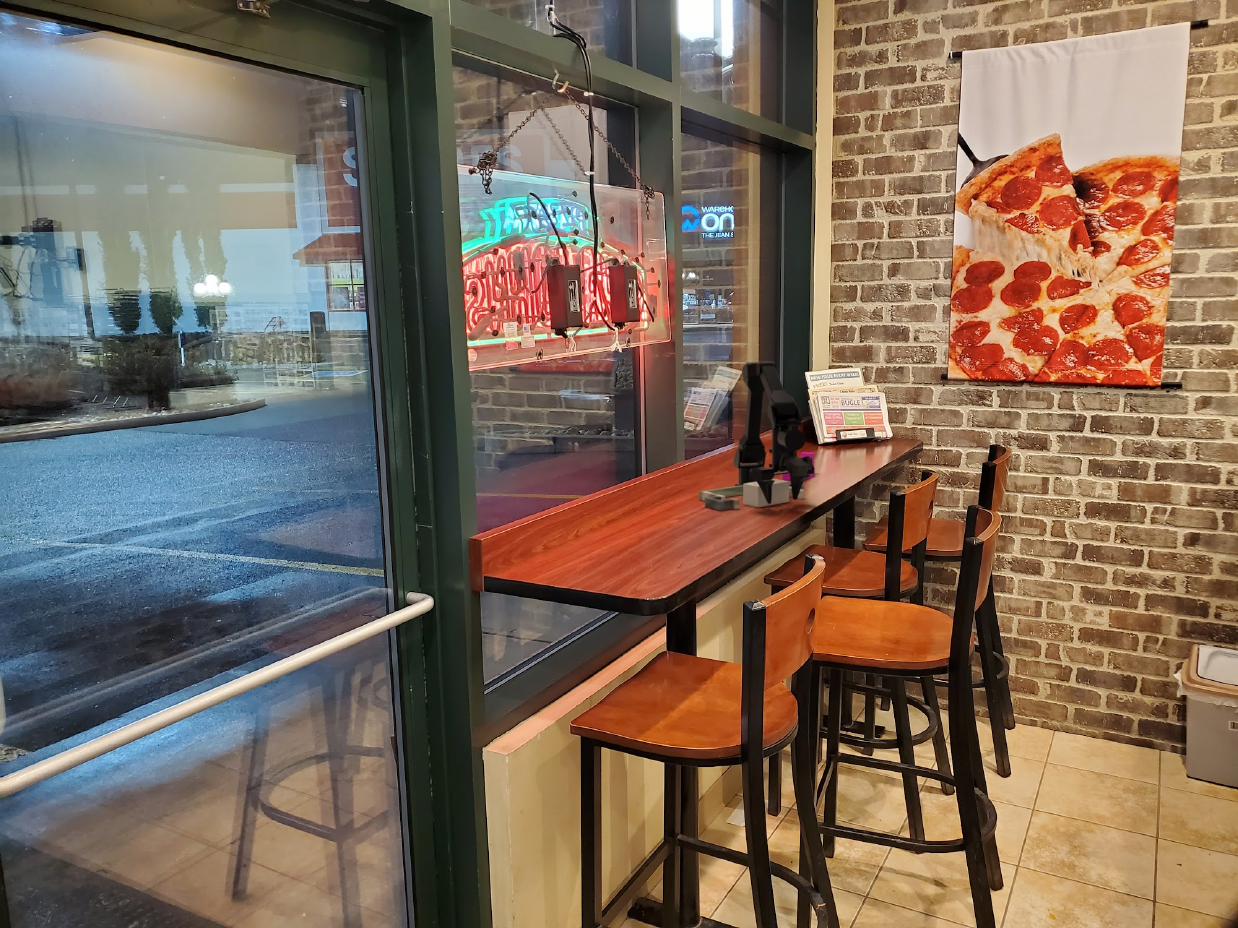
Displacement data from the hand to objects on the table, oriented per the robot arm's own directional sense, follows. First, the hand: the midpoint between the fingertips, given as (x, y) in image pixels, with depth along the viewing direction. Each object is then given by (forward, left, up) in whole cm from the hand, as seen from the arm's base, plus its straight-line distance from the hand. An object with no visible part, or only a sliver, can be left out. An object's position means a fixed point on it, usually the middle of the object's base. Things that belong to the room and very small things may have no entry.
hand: (782, 501), depth 259 cm
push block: (-7, 0, -2) cm, 7 cm away
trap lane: (-13, 0, -1) cm, 13 cm away
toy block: (-31, +35, -2) cm, 46 cm away
